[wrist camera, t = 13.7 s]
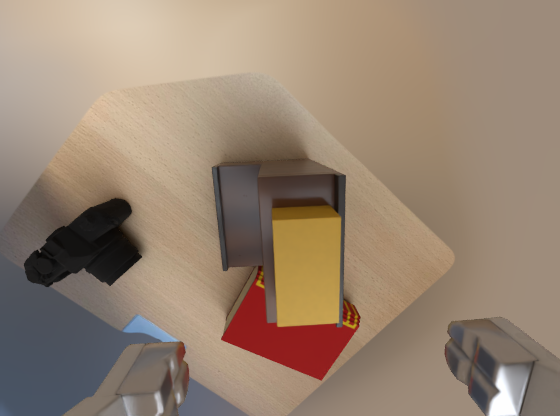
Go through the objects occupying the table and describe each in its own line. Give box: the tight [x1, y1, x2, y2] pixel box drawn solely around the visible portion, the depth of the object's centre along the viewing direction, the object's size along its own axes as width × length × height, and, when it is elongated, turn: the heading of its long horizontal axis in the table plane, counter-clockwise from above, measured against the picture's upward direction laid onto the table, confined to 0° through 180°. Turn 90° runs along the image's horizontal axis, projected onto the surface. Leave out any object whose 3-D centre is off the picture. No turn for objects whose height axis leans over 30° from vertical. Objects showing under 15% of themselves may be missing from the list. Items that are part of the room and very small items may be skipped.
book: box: [221, 265, 361, 381], centre depth 43 cm, size 18×13×5 cm
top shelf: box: [257, 172, 346, 327], centre depth 23 cm, size 14×7×2 cm, turn 2°
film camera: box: [24, 198, 142, 287], centre depth 37 cm, size 15×10×9 cm, turn 130°
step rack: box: [212, 159, 337, 271], centre depth 32 cm, size 14×13×17 cm
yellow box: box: [272, 205, 341, 327], centre depth 22 cm, size 5×9×4 cm, turn 2°
